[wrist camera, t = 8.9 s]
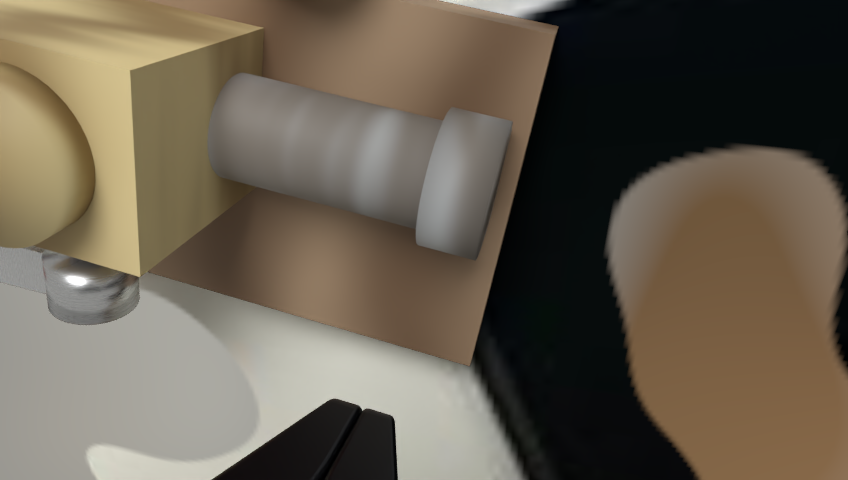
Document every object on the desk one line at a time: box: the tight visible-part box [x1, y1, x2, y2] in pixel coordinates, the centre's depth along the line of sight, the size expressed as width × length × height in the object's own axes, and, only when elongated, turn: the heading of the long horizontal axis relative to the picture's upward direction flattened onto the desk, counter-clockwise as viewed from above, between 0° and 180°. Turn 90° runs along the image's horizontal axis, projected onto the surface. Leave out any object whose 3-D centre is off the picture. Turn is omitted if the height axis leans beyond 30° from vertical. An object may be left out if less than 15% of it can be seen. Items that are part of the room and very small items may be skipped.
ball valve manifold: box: [0, 0, 559, 366], centre depth 18 cm, size 16×11×8 cm
